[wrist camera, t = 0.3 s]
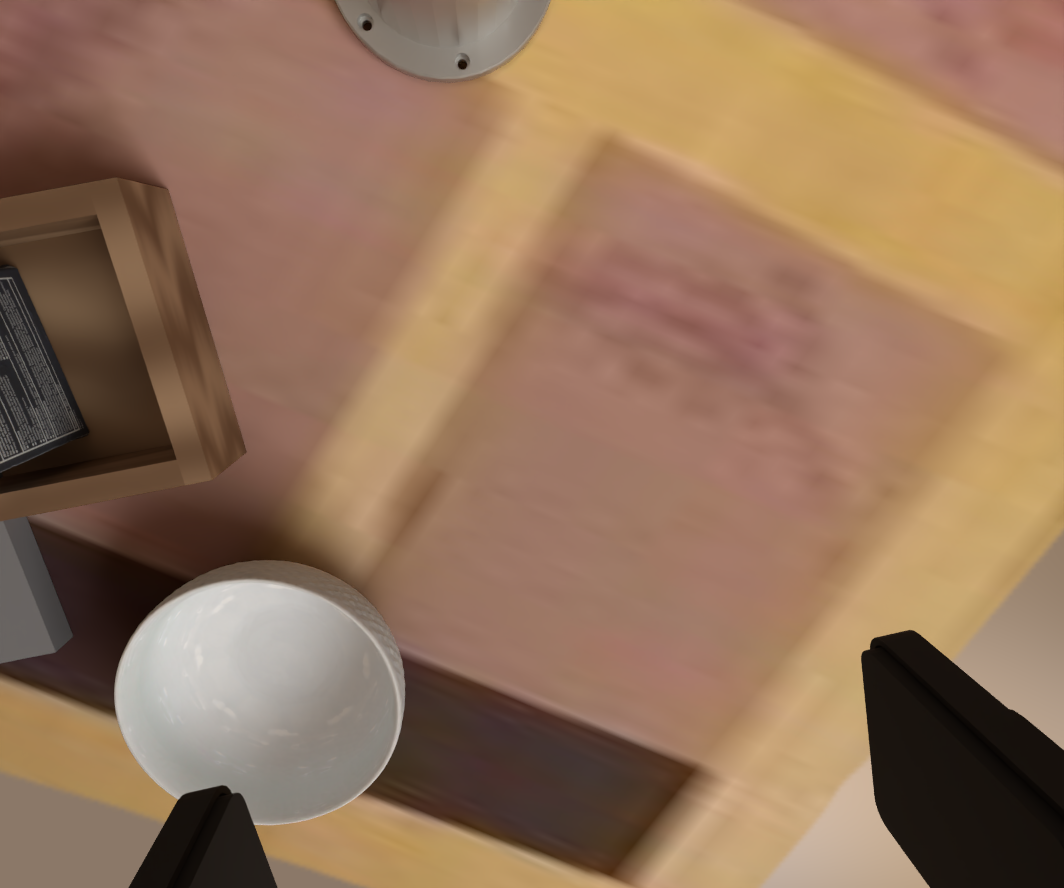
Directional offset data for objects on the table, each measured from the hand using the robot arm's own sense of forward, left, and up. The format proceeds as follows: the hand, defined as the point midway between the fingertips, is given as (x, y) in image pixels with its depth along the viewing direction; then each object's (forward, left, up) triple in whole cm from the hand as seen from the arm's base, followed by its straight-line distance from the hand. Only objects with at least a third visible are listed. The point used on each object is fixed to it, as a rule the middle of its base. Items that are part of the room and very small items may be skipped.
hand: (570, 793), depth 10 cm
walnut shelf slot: (-7, -25, -36) cm, 44 cm away
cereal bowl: (+15, -18, -36) cm, 43 cm away
